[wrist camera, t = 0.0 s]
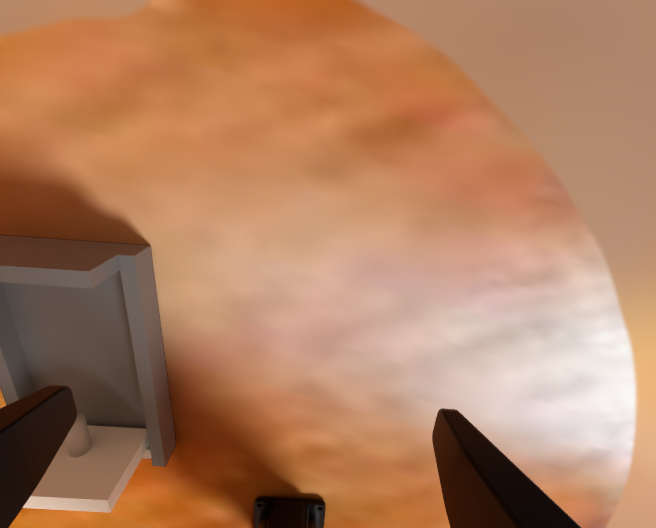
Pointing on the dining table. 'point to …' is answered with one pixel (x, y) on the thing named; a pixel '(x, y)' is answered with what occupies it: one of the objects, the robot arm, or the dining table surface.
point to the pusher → (90, 468)
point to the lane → (86, 332)
